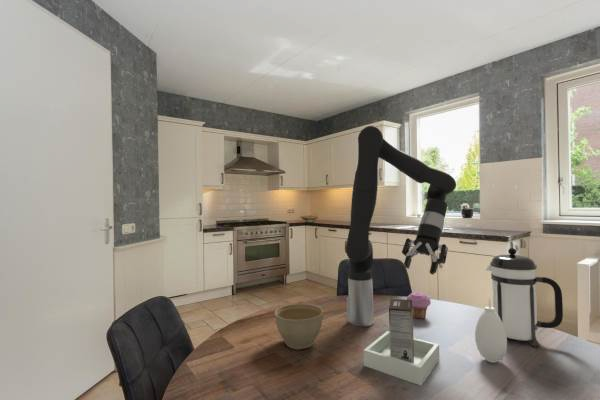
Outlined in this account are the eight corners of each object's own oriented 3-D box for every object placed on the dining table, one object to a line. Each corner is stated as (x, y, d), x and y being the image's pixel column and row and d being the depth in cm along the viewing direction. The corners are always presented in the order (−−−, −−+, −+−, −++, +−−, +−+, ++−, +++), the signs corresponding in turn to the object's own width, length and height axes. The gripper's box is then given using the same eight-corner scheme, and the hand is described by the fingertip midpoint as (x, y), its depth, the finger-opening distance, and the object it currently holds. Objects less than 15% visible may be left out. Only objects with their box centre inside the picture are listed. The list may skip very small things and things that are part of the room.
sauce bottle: (509, 370, 84) (506, 304, 84) (476, 364, 88) (473, 300, 88) (506, 357, 91) (504, 296, 91) (475, 352, 95) (473, 293, 95)
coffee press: (519, 353, 93) (516, 253, 94) (478, 331, 109) (476, 246, 109) (565, 345, 97) (562, 250, 97) (519, 326, 113) (516, 243, 113)
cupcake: (406, 319, 122) (405, 294, 122) (407, 312, 130) (407, 288, 130) (431, 322, 118) (430, 296, 118) (431, 314, 126) (430, 290, 126)
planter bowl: (333, 341, 104) (332, 309, 104) (300, 360, 93) (299, 324, 93) (298, 329, 115) (297, 300, 115) (265, 344, 104) (264, 312, 104)
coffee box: (391, 350, 95) (390, 297, 95) (413, 352, 93) (412, 299, 93) (390, 365, 87) (388, 307, 87) (414, 368, 85) (412, 309, 85)
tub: (364, 365, 89) (363, 349, 89) (387, 344, 101) (387, 331, 101) (421, 385, 78) (420, 367, 78) (439, 359, 91) (438, 344, 91)
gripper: (407, 220, 112) (394, 262, 107) (448, 225, 102) (436, 272, 97) (415, 228, 117) (403, 269, 112) (455, 234, 107) (444, 279, 102)
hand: (418, 270), depth 105 cm, fingers open, 8 cm apart
